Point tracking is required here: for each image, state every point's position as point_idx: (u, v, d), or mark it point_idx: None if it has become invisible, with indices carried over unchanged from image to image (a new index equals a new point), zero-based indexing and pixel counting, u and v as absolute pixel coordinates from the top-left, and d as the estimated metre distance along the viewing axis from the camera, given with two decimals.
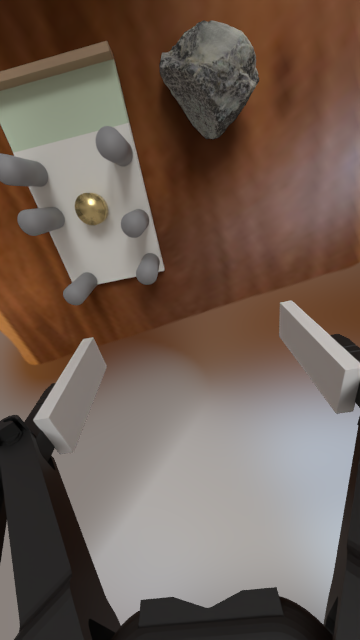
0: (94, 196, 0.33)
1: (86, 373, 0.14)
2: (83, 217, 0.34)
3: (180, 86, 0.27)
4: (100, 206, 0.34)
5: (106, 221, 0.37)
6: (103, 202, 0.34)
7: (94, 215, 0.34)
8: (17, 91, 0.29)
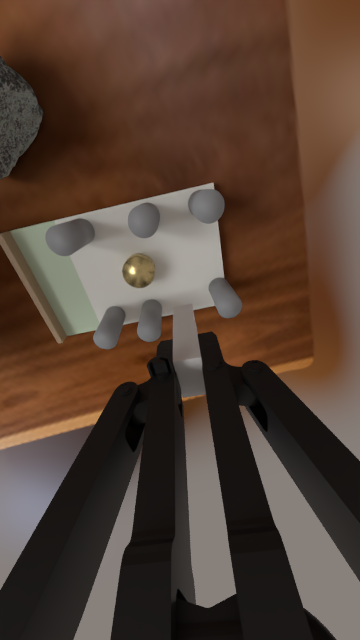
0: (124, 266, 0.31)
1: None
2: (146, 281, 0.32)
3: None
4: (134, 261, 0.30)
5: (152, 257, 0.32)
6: (130, 257, 0.31)
7: (143, 269, 0.31)
8: (58, 315, 0.36)
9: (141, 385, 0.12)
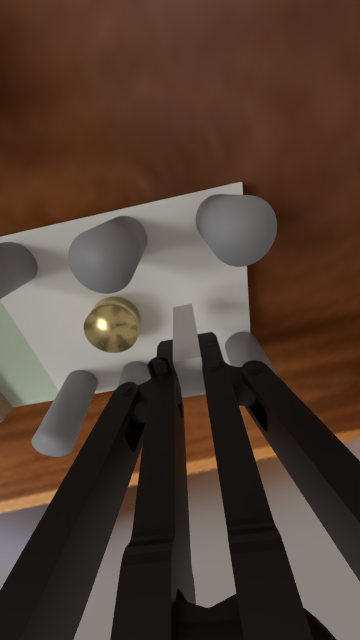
0: (87, 321, 0.18)
1: None
2: (125, 343, 0.19)
3: None
4: (102, 314, 0.18)
5: (135, 302, 0.20)
6: (97, 306, 0.18)
7: (120, 325, 0.19)
8: None
9: (141, 385, 0.12)
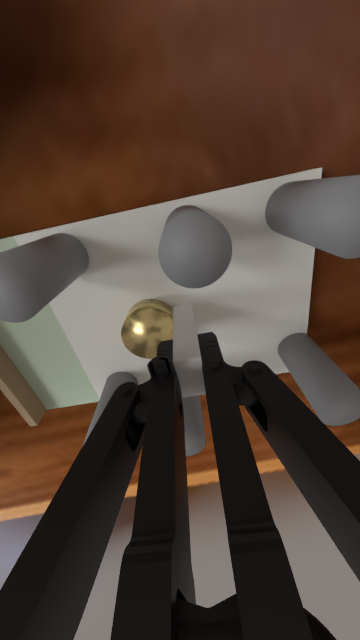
0: (125, 327, 0.17)
1: None
2: None
3: None
4: (141, 318, 0.17)
5: (188, 300, 0.19)
6: (135, 310, 0.17)
7: (159, 329, 0.17)
8: (32, 382, 0.23)
9: (141, 385, 0.12)
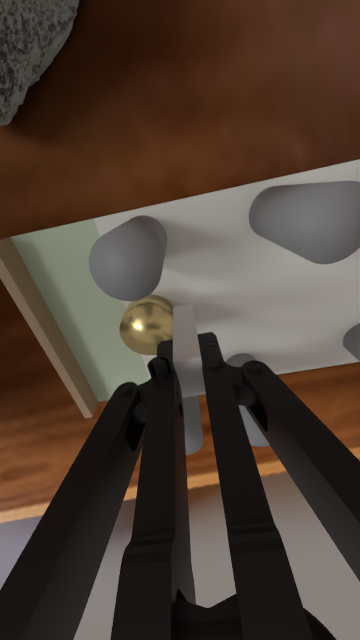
0: (125, 319, 0.17)
1: None
2: None
3: None
4: (143, 313, 0.17)
5: (261, 287, 0.18)
6: (137, 304, 0.17)
7: (159, 327, 0.17)
8: (88, 373, 0.22)
9: (141, 385, 0.12)
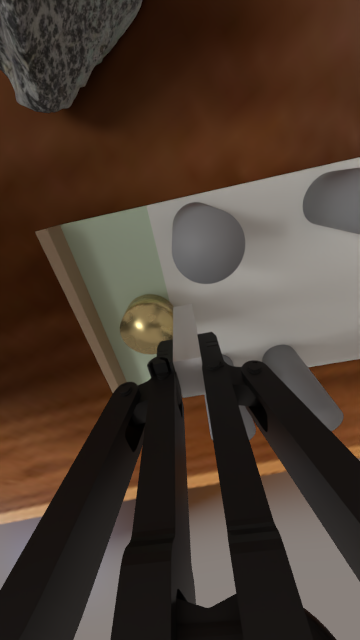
0: (125, 319, 0.17)
1: None
2: None
3: (58, 15, 0.09)
4: (142, 312, 0.17)
5: (307, 276, 0.18)
6: (137, 304, 0.17)
7: (159, 326, 0.17)
8: (125, 366, 0.22)
9: (141, 385, 0.12)
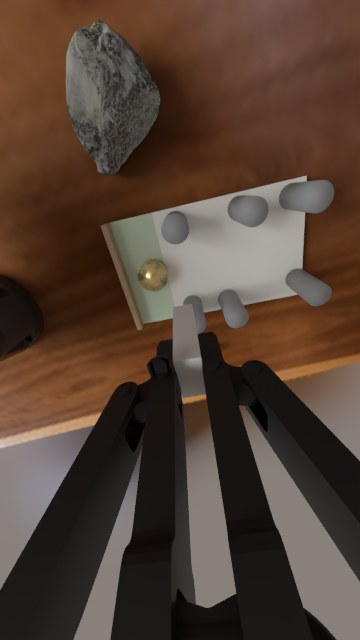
0: (140, 270, 0.34)
1: None
2: (159, 285, 0.35)
3: (120, 147, 0.26)
4: (149, 266, 0.33)
5: (236, 248, 0.34)
6: (146, 262, 0.34)
7: (158, 274, 0.34)
8: (139, 303, 0.39)
9: (141, 385, 0.12)
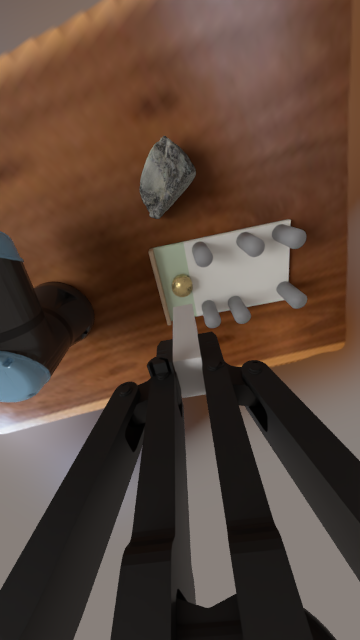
0: (174, 282, 0.47)
1: None
2: (186, 293, 0.48)
3: (168, 204, 0.39)
4: (180, 279, 0.47)
5: (241, 266, 0.48)
6: (178, 277, 0.47)
7: (186, 285, 0.47)
8: (169, 305, 0.52)
9: (141, 385, 0.12)
